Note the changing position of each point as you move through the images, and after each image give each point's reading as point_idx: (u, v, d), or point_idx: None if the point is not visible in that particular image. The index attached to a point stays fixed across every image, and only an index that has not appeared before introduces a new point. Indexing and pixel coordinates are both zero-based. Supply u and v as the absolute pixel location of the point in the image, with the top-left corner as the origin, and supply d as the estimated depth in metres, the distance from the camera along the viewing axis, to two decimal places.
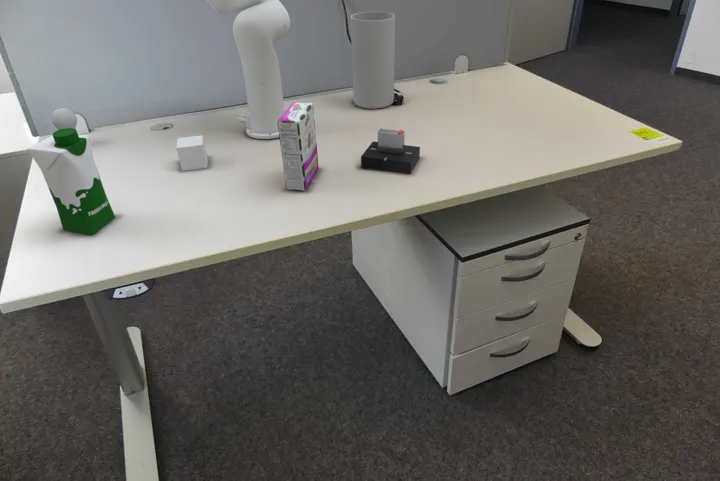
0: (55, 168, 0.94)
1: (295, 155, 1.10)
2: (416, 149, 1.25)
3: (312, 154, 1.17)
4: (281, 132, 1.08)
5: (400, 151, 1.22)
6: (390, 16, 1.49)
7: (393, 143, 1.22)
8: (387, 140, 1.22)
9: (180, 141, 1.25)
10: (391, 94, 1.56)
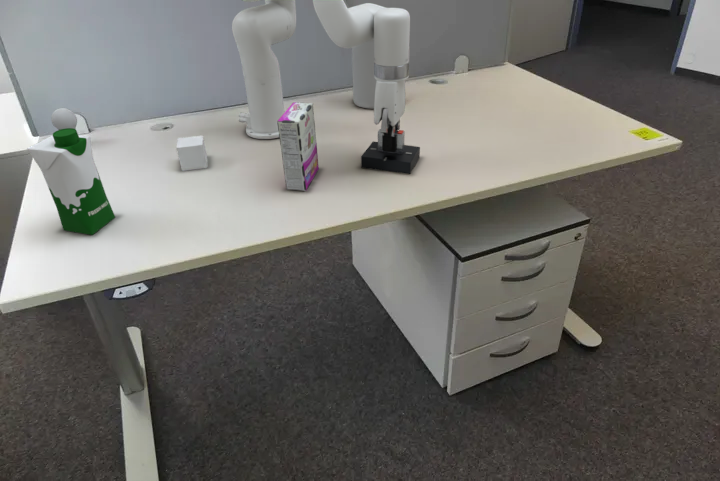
0: (55, 168, 0.94)
1: (295, 155, 1.10)
2: (416, 149, 1.25)
3: (312, 154, 1.17)
4: (281, 132, 1.08)
5: (400, 151, 1.22)
6: None
7: None
8: None
9: (180, 141, 1.25)
10: None
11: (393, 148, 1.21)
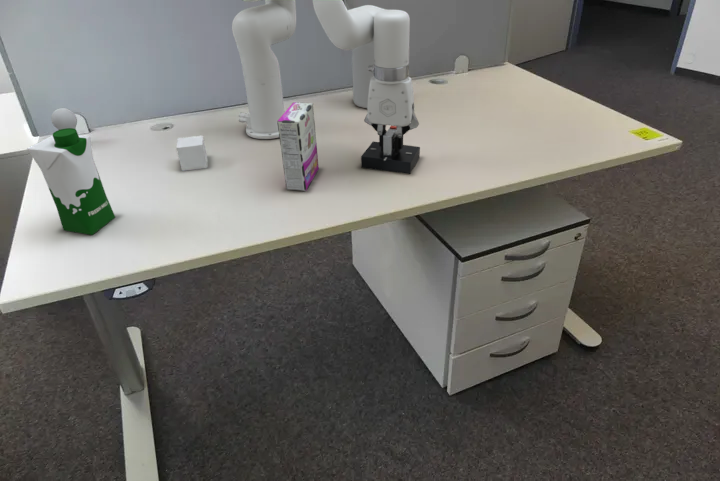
0: (55, 168, 0.94)
1: (295, 155, 1.10)
2: (416, 149, 1.25)
3: (312, 154, 1.17)
4: (281, 132, 1.08)
5: None
6: None
7: None
8: (394, 140, 1.21)
9: (180, 141, 1.25)
10: None
11: None
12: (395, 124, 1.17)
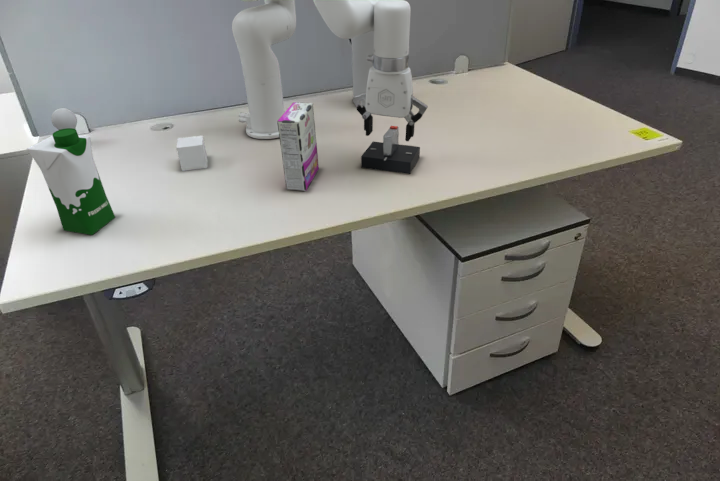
0: (55, 168, 0.94)
1: (295, 155, 1.10)
2: (416, 149, 1.25)
3: (312, 154, 1.17)
4: (281, 132, 1.08)
5: None
6: None
7: (396, 140, 1.23)
8: (394, 140, 1.21)
9: (180, 141, 1.25)
10: None
11: None
12: (393, 115, 1.16)
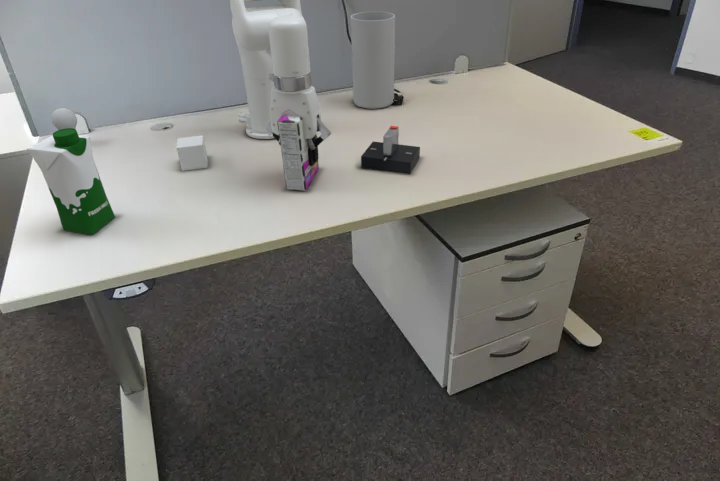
0: (55, 168, 0.94)
1: (295, 155, 1.10)
2: (416, 149, 1.25)
3: None
4: (281, 132, 1.08)
5: None
6: (390, 16, 1.49)
7: (396, 140, 1.23)
8: (394, 140, 1.21)
9: (180, 141, 1.25)
10: (391, 94, 1.56)
11: None
12: None
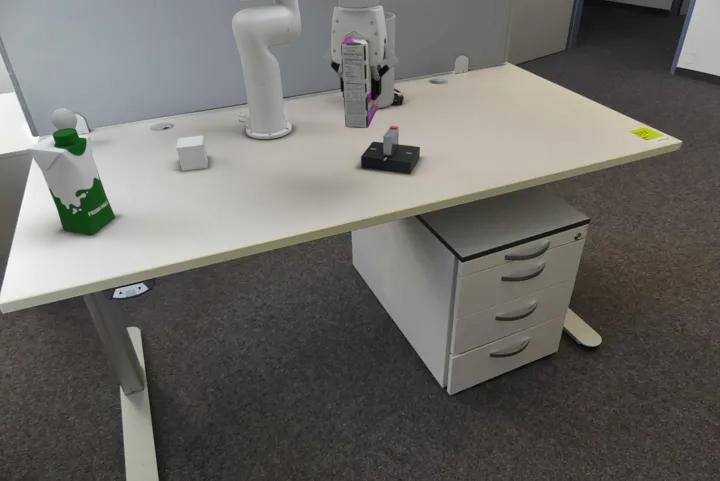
0: (55, 168, 0.94)
1: (359, 84, 0.98)
2: (416, 149, 1.25)
3: None
4: (345, 57, 0.95)
5: None
6: (390, 16, 1.49)
7: (396, 140, 1.23)
8: (394, 140, 1.21)
9: (180, 141, 1.25)
10: (391, 94, 1.56)
11: None
12: None
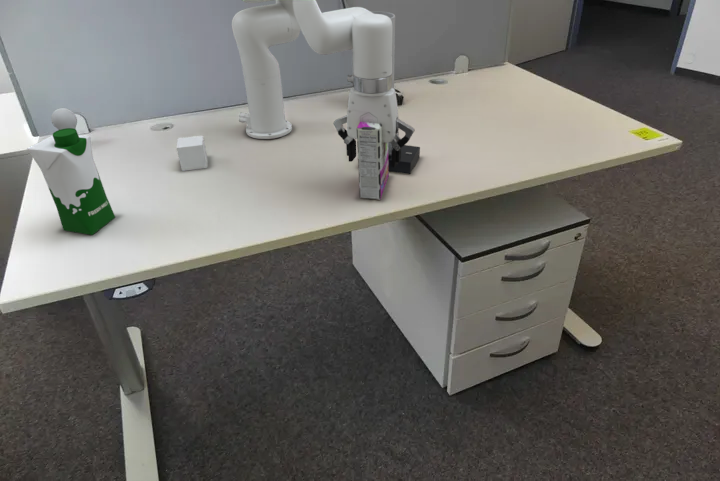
0: (55, 168, 0.94)
1: (373, 163, 1.06)
2: (416, 149, 1.25)
3: (386, 161, 1.13)
4: (360, 139, 1.04)
5: None
6: (390, 16, 1.49)
7: None
8: None
9: (180, 141, 1.25)
10: None
11: None
12: None
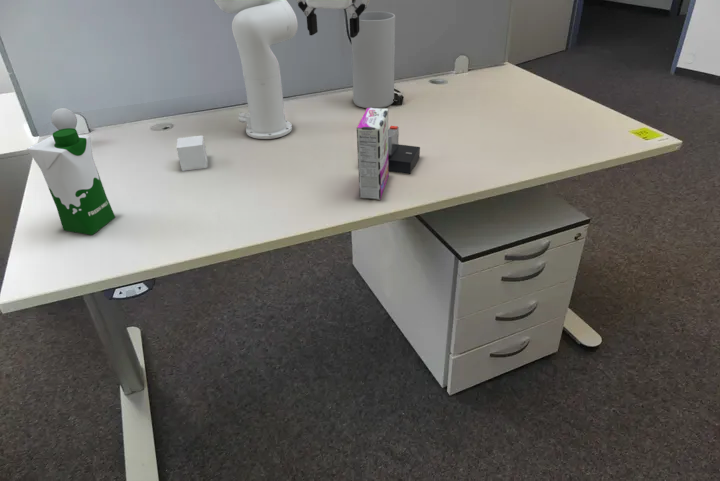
0: (55, 168, 0.94)
1: (373, 163, 1.06)
2: (416, 149, 1.25)
3: (386, 161, 1.13)
4: (360, 139, 1.04)
5: None
6: (390, 16, 1.49)
7: (396, 140, 1.23)
8: (394, 140, 1.21)
9: (180, 141, 1.25)
10: (391, 94, 1.56)
11: None
12: (335, 6, 1.09)
